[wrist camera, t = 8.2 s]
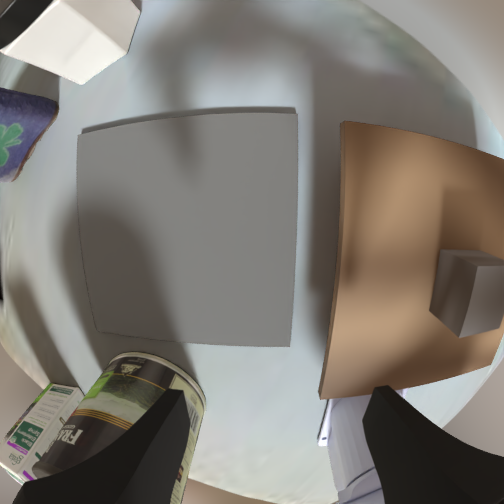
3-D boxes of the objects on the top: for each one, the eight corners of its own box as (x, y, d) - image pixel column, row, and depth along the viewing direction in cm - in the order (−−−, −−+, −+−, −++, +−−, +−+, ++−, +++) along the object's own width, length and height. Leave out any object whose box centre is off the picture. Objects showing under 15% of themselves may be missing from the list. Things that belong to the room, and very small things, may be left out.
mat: (289, 342, 20) (289, 346, 19) (100, 327, 20) (96, 330, 20) (296, 116, 16) (297, 113, 15) (82, 135, 17) (77, 135, 16)
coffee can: (93, 383, 22) (27, 476, 9) (134, 329, 20) (36, 456, 6) (171, 439, 24) (137, 541, 10) (230, 400, 21) (206, 544, 8)
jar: (131, -10, 13) (70, -80, 1) (153, 41, 15) (70, -47, 3) (54, 45, 14) (-27, 8, 3) (64, 102, 16) (-44, 75, 4)
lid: (485, 359, 14) (511, 385, 10) (318, 391, 15) (328, 439, 11) (522, 170, 11) (560, 173, 7) (339, 124, 11) (370, 101, 7)
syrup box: (79, 386, 23) (13, 472, 9) (103, 422, 24) (54, 507, 10) (50, 381, 23) (-12, 453, 9) (72, 416, 24) (23, 488, 10)
